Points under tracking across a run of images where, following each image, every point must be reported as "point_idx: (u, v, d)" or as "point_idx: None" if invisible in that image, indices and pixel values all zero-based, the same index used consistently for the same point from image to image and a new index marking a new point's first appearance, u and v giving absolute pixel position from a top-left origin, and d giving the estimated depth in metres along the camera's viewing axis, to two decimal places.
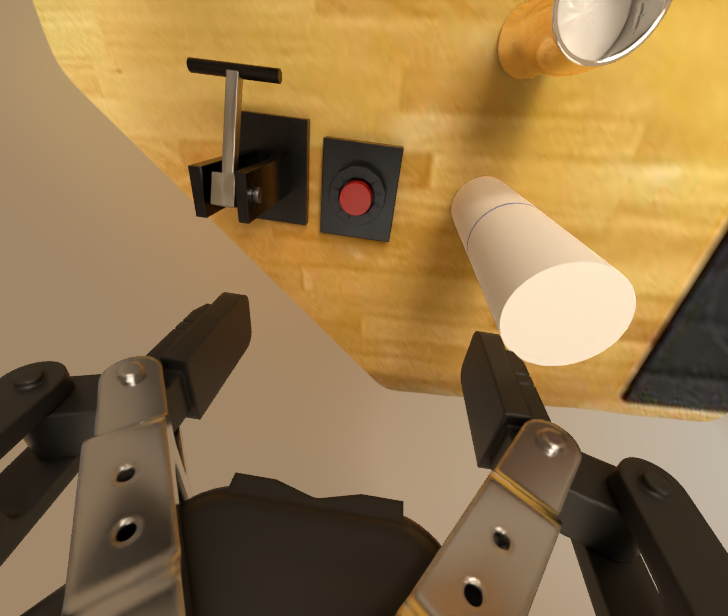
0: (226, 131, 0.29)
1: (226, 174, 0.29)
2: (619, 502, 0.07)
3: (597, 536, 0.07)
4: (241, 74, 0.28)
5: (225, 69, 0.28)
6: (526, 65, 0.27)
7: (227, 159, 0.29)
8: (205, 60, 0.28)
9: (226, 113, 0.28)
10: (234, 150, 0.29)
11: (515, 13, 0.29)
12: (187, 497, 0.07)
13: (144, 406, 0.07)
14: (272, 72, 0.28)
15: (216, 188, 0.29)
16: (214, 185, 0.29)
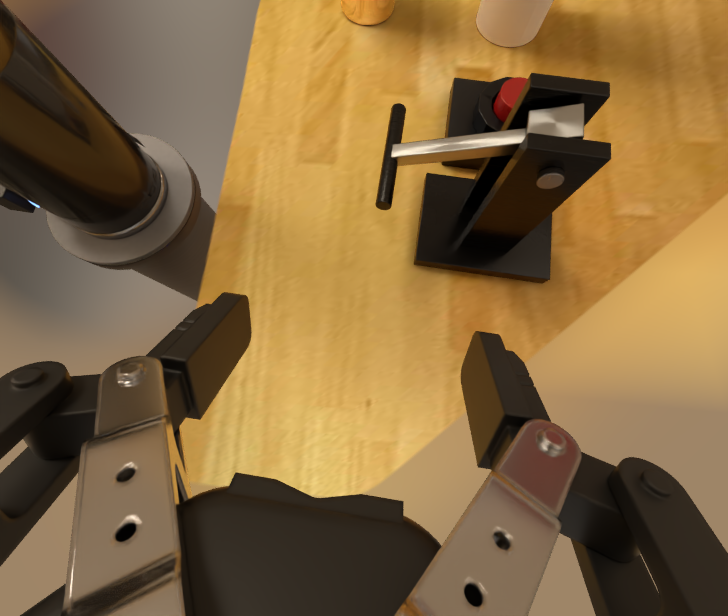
0: (464, 145, 0.21)
1: (529, 122, 0.19)
2: (619, 502, 0.07)
3: (597, 536, 0.07)
4: (396, 142, 0.23)
5: (391, 157, 0.23)
6: None
7: (503, 138, 0.20)
8: (380, 182, 0.22)
9: (441, 148, 0.21)
10: (489, 133, 0.21)
11: (350, 4, 0.35)
12: (187, 497, 0.07)
13: (144, 406, 0.07)
14: (395, 108, 0.23)
15: (555, 130, 0.18)
16: (550, 134, 0.18)
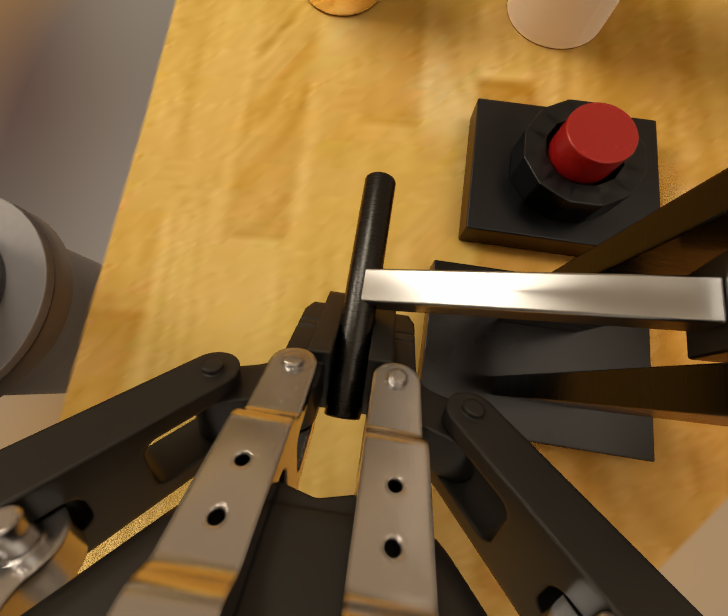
0: (539, 300, 0.08)
1: None
2: (446, 427, 0.08)
3: (433, 459, 0.08)
4: (373, 262, 0.10)
5: (360, 301, 0.10)
6: None
7: (653, 297, 0.07)
8: (335, 360, 0.10)
9: (479, 300, 0.09)
10: (607, 274, 0.08)
11: None
12: None
13: (287, 398, 0.07)
14: (373, 183, 0.11)
15: None
16: None
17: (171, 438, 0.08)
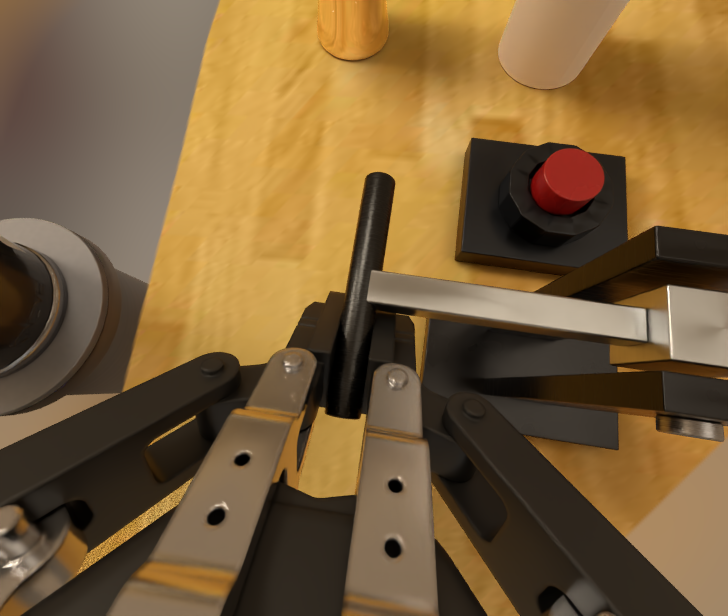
0: (526, 315, 0.10)
1: (671, 312, 0.09)
2: (446, 427, 0.08)
3: (433, 459, 0.08)
4: (378, 264, 0.10)
5: (366, 303, 0.10)
6: None
7: (605, 320, 0.10)
8: (339, 360, 0.10)
9: (478, 311, 0.10)
10: (574, 299, 0.10)
11: (329, 33, 0.26)
12: None
13: (287, 398, 0.07)
14: (378, 183, 0.11)
15: (724, 348, 0.09)
16: (716, 354, 0.09)
17: (171, 438, 0.08)
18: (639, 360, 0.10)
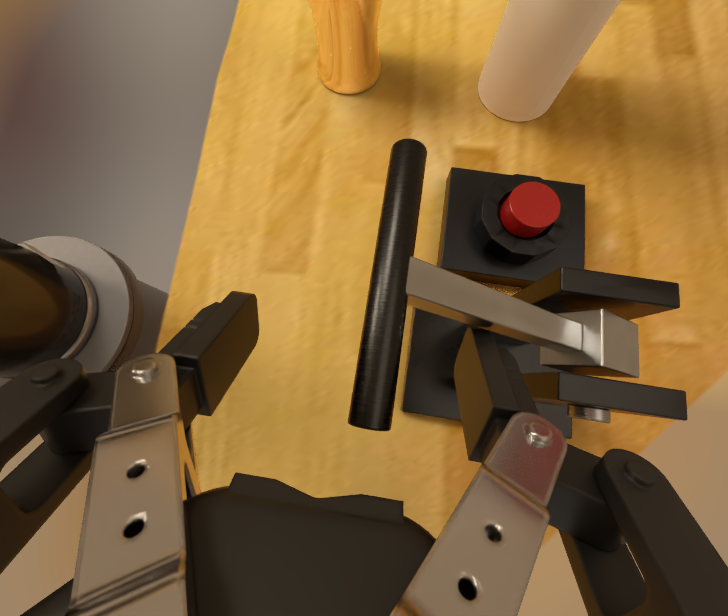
0: (523, 323, 0.11)
1: (603, 330, 0.12)
2: (604, 492, 0.07)
3: (583, 526, 0.07)
4: (413, 250, 0.09)
5: (404, 294, 0.09)
6: (376, 5, 0.25)
7: (563, 331, 0.12)
8: (376, 361, 0.08)
9: (493, 315, 0.10)
10: (547, 311, 0.12)
11: (327, 71, 0.30)
12: (195, 495, 0.07)
13: (157, 403, 0.07)
14: (418, 155, 0.09)
15: (622, 358, 0.12)
16: (619, 362, 0.12)
17: (16, 474, 0.07)
18: (571, 364, 0.13)
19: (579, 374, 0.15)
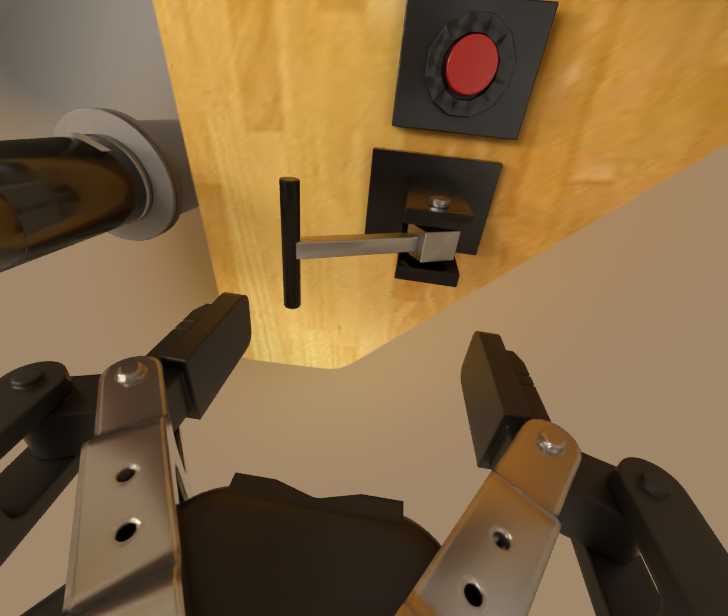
0: (370, 250, 0.21)
1: (424, 244, 0.22)
2: (619, 502, 0.07)
3: (597, 536, 0.07)
4: (298, 238, 0.19)
5: (296, 260, 0.20)
6: None
7: (401, 245, 0.22)
8: (288, 287, 0.21)
9: (349, 253, 0.21)
10: (391, 238, 0.22)
11: None
12: (187, 497, 0.07)
13: (144, 406, 0.07)
14: (291, 190, 0.18)
15: (438, 254, 0.23)
16: (435, 257, 0.23)
17: (0, 481, 0.07)
18: None
19: None
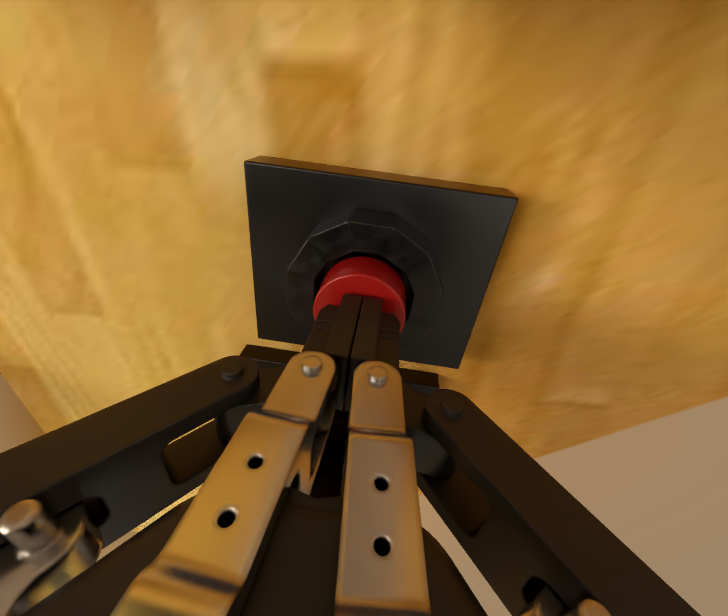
0: None
1: None
2: (426, 424, 0.08)
3: (413, 456, 0.08)
4: None
5: None
6: None
7: None
8: None
9: None
10: None
11: None
12: None
13: (304, 402, 0.07)
14: None
15: None
16: None
17: (189, 438, 0.08)
18: None
19: None
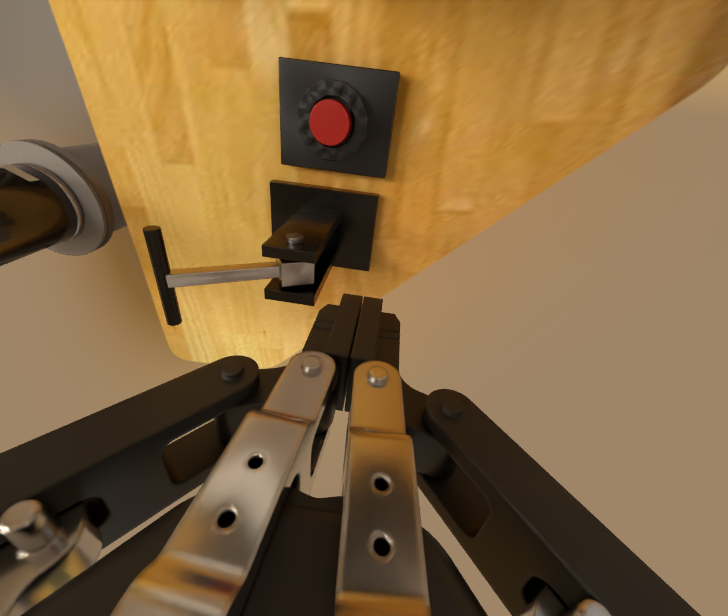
0: (236, 278, 0.26)
1: (282, 272, 0.27)
2: (426, 424, 0.08)
3: (413, 456, 0.08)
4: (167, 271, 0.24)
5: (168, 288, 0.25)
6: None
7: (264, 273, 0.27)
8: (165, 309, 0.26)
9: (216, 281, 0.26)
10: (253, 268, 0.27)
11: None
12: None
13: (304, 402, 0.07)
14: (152, 237, 0.22)
15: (298, 279, 0.28)
16: (295, 282, 0.28)
17: (189, 438, 0.08)
18: None
19: None
